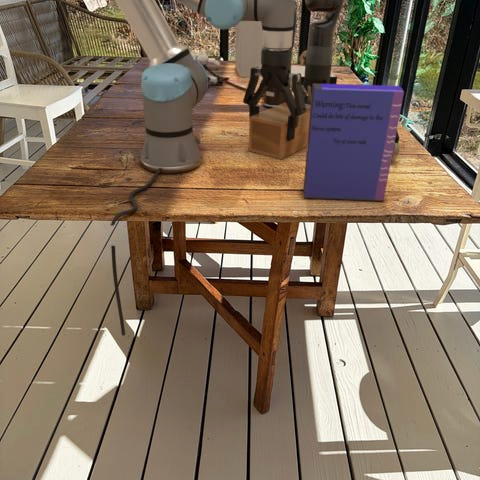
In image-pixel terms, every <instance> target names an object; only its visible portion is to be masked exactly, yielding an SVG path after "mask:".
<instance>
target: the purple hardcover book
mask: <svg viewBox="0 0 480 480" xmlns="http://www.w3.org/2000/svg"><path fill="white" fill-rule="evenodd" d="M404 94H405V91H404V90H403V88H402V87H401V86H399V85H380V84H379V85H377V84H376V85H375V84H344V83H343V84H341V83H336V84H313V87H312V98H311V109H310V120H309V131H308V142H307V146H306V153H305V154H306V155H305V165H304V177H303V188H302V189H303V190H302V191H303V197H304V199H317V200H343V201H344V200H345V201H346V200H347V201H366V202H367V201H368V202H369V201H370V202H384V201H385V195H386V190H387V184H388V178H389V174H390V168H391V164H392V158H393V156H392V153H393V148H394V142H395V137H396V132H398V126H399V120H400V115H401V111H402V104H403V100H404V99H403V98H404Z"/></svg>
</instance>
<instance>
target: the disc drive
mask: <svg viewBox="0 0 480 480" xmlns="http://www.w3.org/2000/svg"><path fill="white" fill-rule="evenodd" d="M291 73H294V74H298V73H300V74H301V86H302V85H303V82H304V80H305V66H301V65H292V66H291ZM329 82H330V84H338V83H337V82H338V76H336V75H335V74H334V73H333V72H332V71H331V76H330V81H329ZM290 88H291V91H293V89H292V82H290Z"/></svg>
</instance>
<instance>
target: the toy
mask: <svg viewBox="0 0 480 480" xmlns="http://www.w3.org/2000/svg"><path fill="white" fill-rule="evenodd" d="M190 53H191V55H192V57H193V59H194V60H196V61H198V62H199V63H200V64H201V65H202V66H203V67H204V65H206V66H207V65H209V64H214V65H215V67H216V66H217V67H218V68H219V67H220V66H221V63H220V62H219V60H216V59H215V58H209V56H208V55H207V54H204V53H203V52H202V51H199V52H198V53H195V52H192V51H190Z"/></svg>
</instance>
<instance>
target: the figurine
mask: <svg viewBox="0 0 480 480" xmlns="http://www.w3.org/2000/svg"><path fill="white" fill-rule="evenodd" d="M216 75H217V76H215V75H214V76H211V75H208V74H207V76H208V84H212V85H215V86H217V85H222V86H223V84H224V83H226V82H225V81H228V82H229V80H230V77H229V76H219V75H218V74H216ZM218 76H219V77H218Z"/></svg>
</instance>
